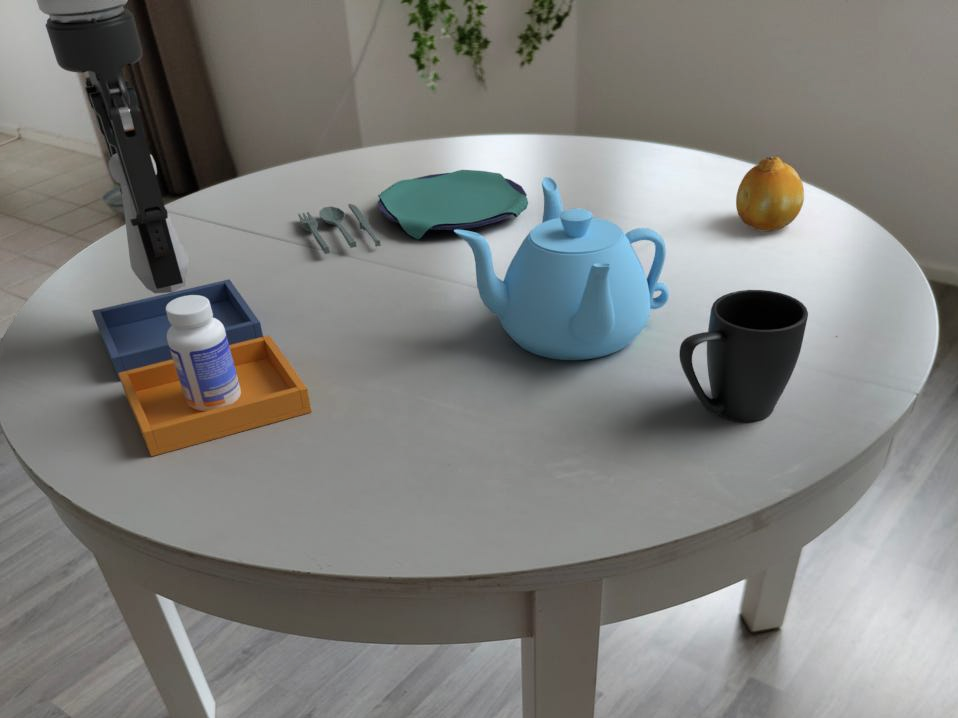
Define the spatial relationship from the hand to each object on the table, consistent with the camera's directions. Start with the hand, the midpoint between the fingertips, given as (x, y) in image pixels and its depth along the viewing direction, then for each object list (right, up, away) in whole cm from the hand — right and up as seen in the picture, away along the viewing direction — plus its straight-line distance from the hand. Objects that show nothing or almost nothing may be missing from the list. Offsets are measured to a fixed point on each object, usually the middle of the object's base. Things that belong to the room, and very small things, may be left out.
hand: (162, 272), depth 98 cm
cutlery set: (+25, +18, +27) cm, 41 cm away
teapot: (+42, -5, +3) cm, 43 cm away
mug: (+56, -17, -10) cm, 60 cm away
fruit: (+69, +14, +21) cm, 74 cm away
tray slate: (0, -5, +5) cm, 7 cm away
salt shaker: (0, -1, +1) cm, 2 cm away
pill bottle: (+7, -15, -6) cm, 17 cm away
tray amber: (+7, -15, -5) cm, 18 cm away
